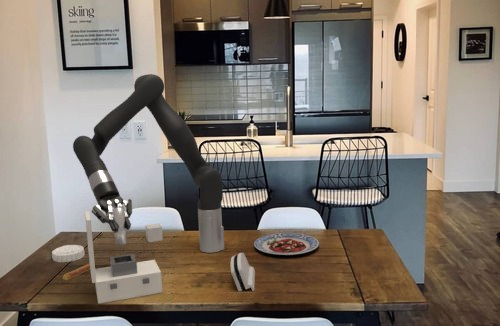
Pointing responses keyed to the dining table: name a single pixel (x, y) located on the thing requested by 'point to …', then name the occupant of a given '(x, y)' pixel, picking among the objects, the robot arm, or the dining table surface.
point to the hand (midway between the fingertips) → (122, 229)
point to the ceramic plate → (286, 243)
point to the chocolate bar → (76, 272)
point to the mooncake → (68, 253)
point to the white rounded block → (242, 272)
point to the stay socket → (123, 265)
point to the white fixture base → (122, 277)
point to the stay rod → (119, 225)
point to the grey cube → (153, 232)
